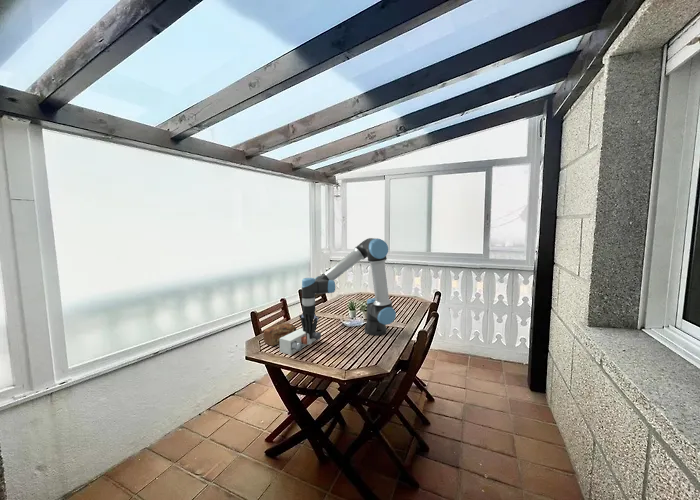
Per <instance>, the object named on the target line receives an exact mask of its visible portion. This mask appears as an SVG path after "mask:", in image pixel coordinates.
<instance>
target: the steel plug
mask: <svg viewBox="0 0 700 500" xmlns="http://www.w3.org/2000/svg"><path fill="white" fill-rule="evenodd" d="M302 347H303V344H302V343H301V342H298V343H297V342H292V343H291V348H293V349H296V350H297V351H296V352H301V351H302V350H303V348H304V347H303V348H302Z"/></svg>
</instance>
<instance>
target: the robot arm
mask: <svg viewBox="0 0 700 500" xmlns="http://www.w3.org/2000/svg"><path fill="white" fill-rule="evenodd" d="M388 253H389V246H388V243H387V242H386V241H385V240H383V239H380V238H375V237H374V238H373V237H369V238H366V239H364V240H363V241H362V242H360V243H359V244H357V246H355V247H354V249H353V251H351V252H350V253H348V255H346V256H344V257H343V258H341V260H339V261H338V262H337V263H336V264H334V265H333V266H332V267H330V268H328V270H326V271H325V272H324V273H322V274H321V275H319V276H316V277H315V278H314V277H305V278H302V280H301V304H302V306H301V308H302V310H301V311H302V314H300V315H299V318H300V322H301V328H303V331H304V332H306V338H307V344H308V345H307V346H310V345H311V344H313V342H312V338H313V333H314V332H316V331H317V326H318V323H319V319H320V317H319V316H317V315H316V295H321V294H331V293H334V292H336V282H335V280H336V279H338V278H339V277H340V276H342V274H344V273H345V272H347V271H348V270H350V268H352V267H353V266H354V265H355V264H357V263H359V261H362V260H365V259H366V258H367V262H368V263H370V267H371V274H372V275H371V277H372V284H373V293H374V297H372V298H367V300H366V323H365V325H364V330H363V331H364V333H365V334H367V335H369V336H382V335H385V334H387V326H388V325H391V324H392V323H393V322H394V321H395V320H396V317H397V312H396V310H395V309H394V307H393V303H392V300H391V299H390V297H389V288H388V280H387V272H386V270H387V269H386V263H385V262H386V261H387V260H388V259H387V255H388ZM386 325H387V326H386ZM316 333H317V332H316Z"/></svg>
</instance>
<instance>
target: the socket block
mask: <svg viewBox="0 0 700 500" xmlns="http://www.w3.org/2000/svg"><path fill="white" fill-rule="evenodd" d="M301 337H306V332H304V331H303V328H302V327H301V328H299V329H296V331H294V332H292V333H290V334H288V335H286V336H284V337H281V338H279V340H280V344H279V352H280V353H281V354H285V355H290V356H291V355H293V354H294V353H296V352H298V351H297V350H296V349H293V348H291V343H292V342H297V343H298V342H301ZM315 341H317V340H316V339H315V338H312V343H313V342H315ZM302 344H303V347H302V349H303V348H305V347H307V346H309V345H308V344H307V345H306V344H304V343H302Z"/></svg>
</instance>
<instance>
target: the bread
mask: <svg viewBox="0 0 700 500" xmlns="http://www.w3.org/2000/svg"><path fill="white" fill-rule="evenodd" d="M296 330H297V327H296V325H294V324H292V323H290V322H289V323H288V322H287V323H281V324H276V325H273V326H271V327H268V328H266V329H265V330H264V331H263V335H262V336H263V337H262V338H263V341H264V343H265V344H266V345H268V346H271V347H276V345H278V346H279V345H280V340H279V338H281V337H284V336H286V335H288V334H290V333H292V332H294V331H296Z"/></svg>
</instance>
